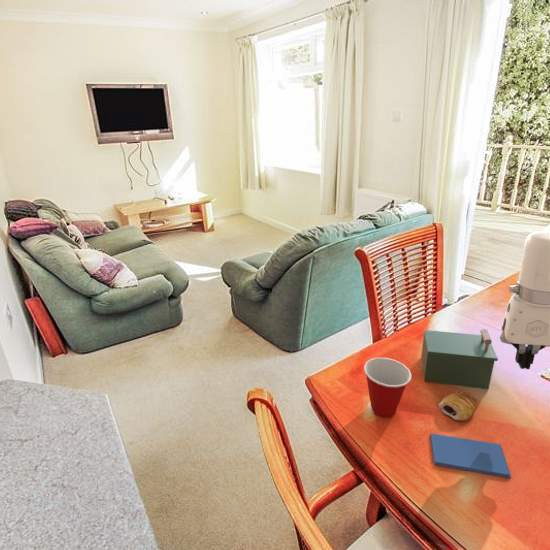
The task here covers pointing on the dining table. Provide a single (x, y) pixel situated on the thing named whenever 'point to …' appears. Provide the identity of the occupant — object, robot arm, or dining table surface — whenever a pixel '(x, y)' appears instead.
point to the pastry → (458, 405)
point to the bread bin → (456, 370)
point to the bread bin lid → (460, 345)
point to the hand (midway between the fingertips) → (523, 365)
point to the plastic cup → (386, 384)
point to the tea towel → (469, 455)
